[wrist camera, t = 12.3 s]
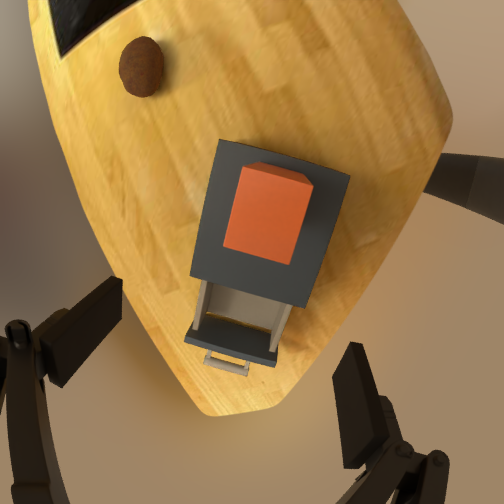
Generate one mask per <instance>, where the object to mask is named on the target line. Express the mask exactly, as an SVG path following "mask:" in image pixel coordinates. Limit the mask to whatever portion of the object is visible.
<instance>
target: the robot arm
mask: <svg viewBox="0 0 504 504" xmlns="http://www.w3.org/2000/svg"><path fill="white" fill-rule="evenodd" d="M122 286H123V279H120V278H117V277H114V276H110V277H109V278H108V279H107V280H106V281H104V282H103V283H102V284H101V285H99V286H98V287H97V288H96V289H94V290H93V291H92V292H91V293H89V294H88V295H87V296H86V297H85V298H83V299H82V300H81V301H80V302H79V303H77V304H76V305H75V306H74V307H73V308H72V309H70V310H68V309H65V308H63V309H60V310H58V311H56V312H54V313H53V314H52V315H51V316H50V317H49V318H47V319H46V320H45V322H42V323H41V324H40V325H39V326H38V327H36V328H35V329H34V330H33V331H32V332H31V329H30V325H29V324H28V322H26V321H24V320H13V321H11V322H9V323H8V324H7V325H6V326H5V332H6V336H7V338H5V337H2V336H0V414H1V409H2V406H3V402H4V397H5V394H6V410H7V428H8V440H9V449H10V457H11V465H12V471H13V477H14V484H13V485H12V486H11V494H12V499H13V503H14V504H70V502H69V500H68V497H67V493H66V490H65V487H64V483H63V480H62V477H61V473H60V469H59V465H58V461H57V457H56V452H55V448H54V443H53V439H52V433H51V428H50V422H49V416H48V409H47V402H46V393H45V385H44V379H43V377H44V376H45V375H46V374H48V377H49V380H50V382H52V383H53V384H55V385H57V386H58V387H60V388H63V386H64V385H65V384H66V383H67V382H68V380H69V379H70V378H71V377H72V376H73V374H74V373H75V372H76V371H77V370H78V368H79V367H80V366H81V365H82V364H83V362H84V361H85V360H86V359H87V358H88V357H89V356H90V354H91V353H92V352H93V351H94V349H96V347H97V346H98V345H99V344H100V343H101V342H102V340H103V339H104V338H105V337H106V336H107V335H108V333H109V332H110V331H111V330H112V329H113V328H114V327H115V326H116V325H117V323H118V322H119V321H120V320H121V319H122ZM332 379H333V386H334V393H335V400H336V407H337V415H338V422H339V430H340V438H341V446H342V454H343V455H342V456H343V465H344V469H359V468H360V467H361V466H362V465H363V464H364V463H365V465H366V470H365V471H364V472H363V473H362V474H361V475H359V476H358V477H357V478H356V479H355V480H356V482H354V484H353V485H352V486H351V487H350V488H349V490H348V491H347V492H346V493H345V494H344V495H343V496H342V497H341V499H340V500H339V501H338V502H337V503H336V504H386V502H387V501H388V499H389V498H390V496H391V494H392V493H393V492H394V490H395V492H394V495H393V498H392V501H391V504H444V502H445V496H446V489H447V482H448V474H449V466H450V463H449V458H448V456H447V455H446V454H445V453H444V452H442V451H441V450H434V451H432V452H431V453H429V454H428V455H424V454H420V453H416V452H414V449H413V447H412V445H410V444H409V443H408V442H406V441H404V440H403V438H402V435H401V431H400V428H399V425H398V422H397V419H396V415H395V413H394V409H393V406H392V403H391V402H390V401H389V399H388V398H387V397H386V396H381V395H378V391H377V388H376V384H375V381H374V378H373V375H372V372H371V369H370V366H369V362H368V359H367V356H366V353H365V350H364V347H363V344H361V343H356V342H350V343H349V345H348V347H347V349H346V351H345V353H344V355H343V357H342V359H341V361H340V363H339V365H338V367H337V368H336V370H335V372H334V374H333V376H332Z"/></svg>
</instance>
